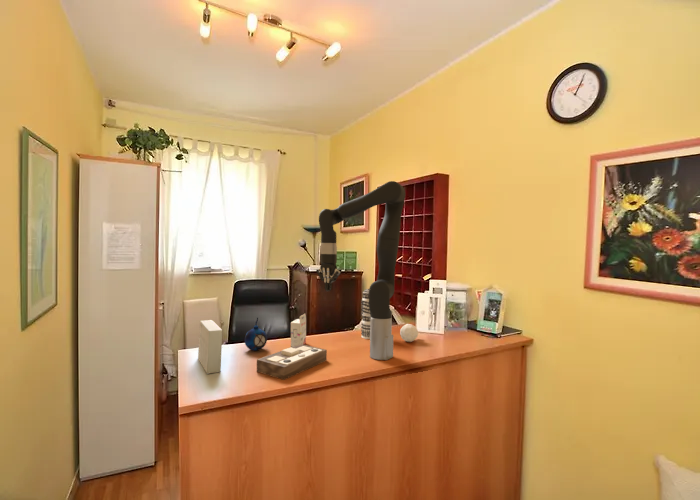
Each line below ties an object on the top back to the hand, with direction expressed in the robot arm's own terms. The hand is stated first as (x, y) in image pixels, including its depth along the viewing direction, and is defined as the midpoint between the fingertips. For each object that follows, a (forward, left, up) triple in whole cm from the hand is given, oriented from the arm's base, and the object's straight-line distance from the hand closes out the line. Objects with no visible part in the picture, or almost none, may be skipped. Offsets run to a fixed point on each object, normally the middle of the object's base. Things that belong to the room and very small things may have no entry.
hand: (328, 290), depth 158 cm
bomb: (+25, +20, -27) cm, 42 cm away
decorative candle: (-5, -30, -27) cm, 41 cm away
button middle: (-1, +25, -24) cm, 35 cm away
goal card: (-6, +25, -22) cm, 34 cm away
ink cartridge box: (+15, +3, -27) cm, 31 cm away
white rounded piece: (-26, -36, -27) cm, 52 cm away
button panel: (-2, +25, -27) cm, 37 cm away
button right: (0, +17, -25) cm, 30 cm away
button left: (0, +33, -25) cm, 42 cm away
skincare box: (+26, +43, -27) cm, 57 cm away
